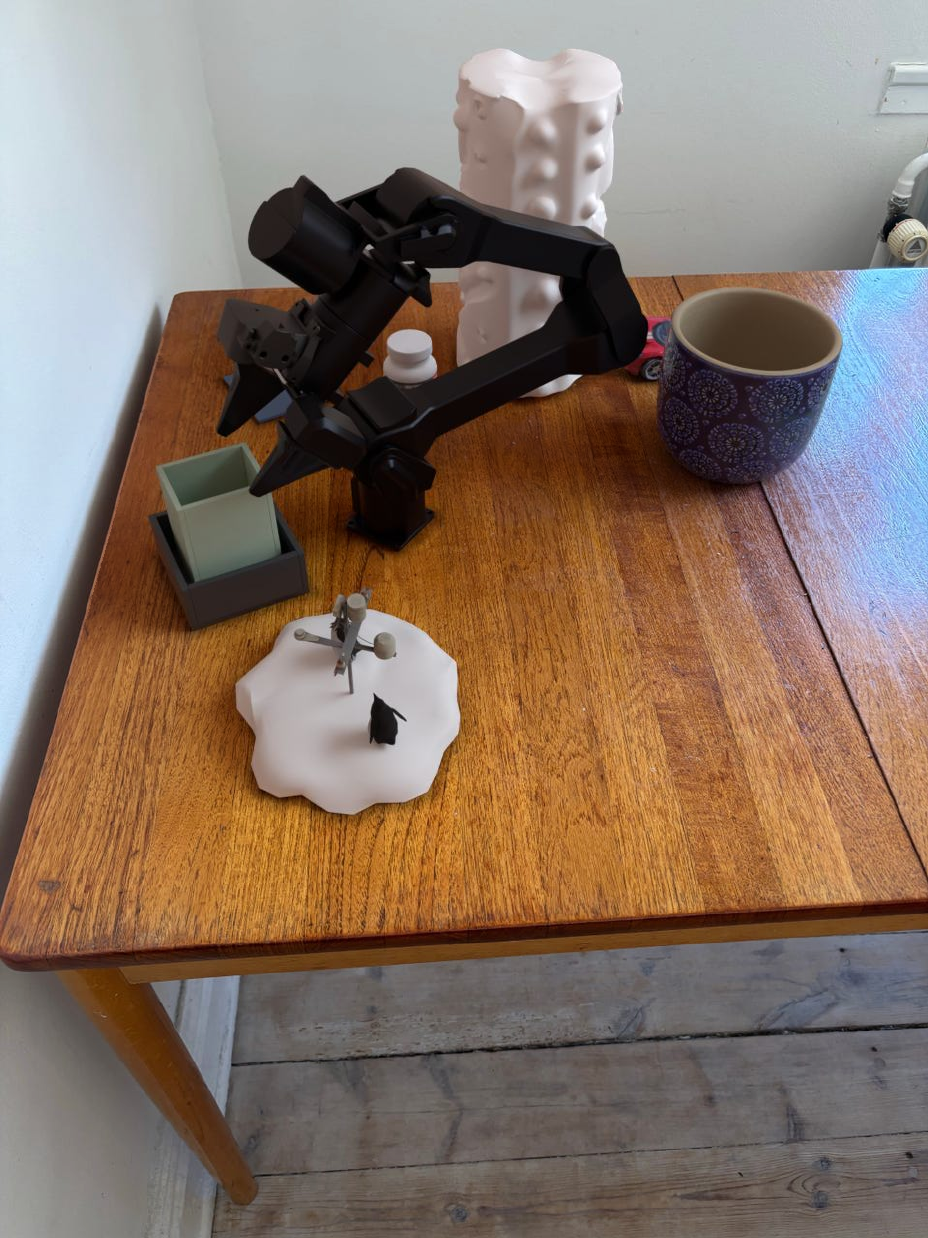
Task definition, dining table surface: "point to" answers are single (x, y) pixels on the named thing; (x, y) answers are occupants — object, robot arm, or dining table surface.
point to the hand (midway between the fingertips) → (236, 463)
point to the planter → (744, 381)
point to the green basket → (218, 512)
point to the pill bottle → (409, 359)
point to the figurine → (350, 709)
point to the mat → (270, 405)
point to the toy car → (651, 350)
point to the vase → (530, 176)
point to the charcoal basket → (233, 578)
